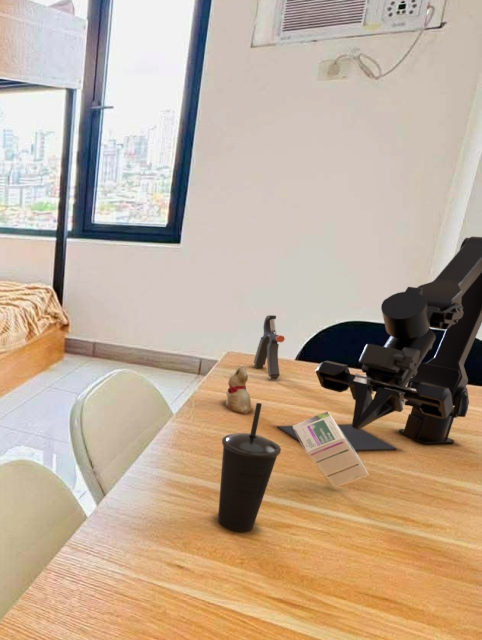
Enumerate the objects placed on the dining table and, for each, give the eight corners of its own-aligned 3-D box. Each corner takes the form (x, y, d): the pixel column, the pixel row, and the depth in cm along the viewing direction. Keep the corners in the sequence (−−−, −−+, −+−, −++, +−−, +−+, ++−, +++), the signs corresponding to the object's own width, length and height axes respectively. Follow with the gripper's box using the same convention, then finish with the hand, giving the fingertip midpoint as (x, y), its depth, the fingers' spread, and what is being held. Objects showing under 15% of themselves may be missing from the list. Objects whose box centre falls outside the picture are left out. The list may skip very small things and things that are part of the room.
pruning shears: (270, 381, 159) (281, 323, 154) (252, 366, 171) (262, 312, 166) (279, 381, 159) (291, 323, 154) (261, 366, 171) (271, 312, 165)
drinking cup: (258, 515, 99) (283, 397, 92) (267, 541, 92) (295, 416, 86) (205, 508, 102) (226, 392, 95) (210, 532, 95) (233, 410, 88)
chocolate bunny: (252, 403, 145) (260, 362, 141) (249, 414, 138) (257, 372, 135) (225, 399, 147) (232, 359, 144) (221, 410, 141) (228, 368, 138)
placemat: (351, 425, 132) (352, 424, 132) (396, 449, 121) (396, 448, 121) (277, 427, 132) (277, 426, 132) (315, 452, 120) (315, 450, 120)
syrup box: (371, 476, 104) (346, 437, 96) (332, 489, 107) (306, 453, 99) (353, 448, 108) (329, 409, 100) (317, 462, 111) (290, 425, 103)
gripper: (333, 315, 109) (286, 386, 107) (467, 338, 94) (415, 421, 93) (344, 352, 116) (300, 419, 114) (472, 379, 101) (423, 457, 99)
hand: (354, 428), depth 105 cm, fingers closed
